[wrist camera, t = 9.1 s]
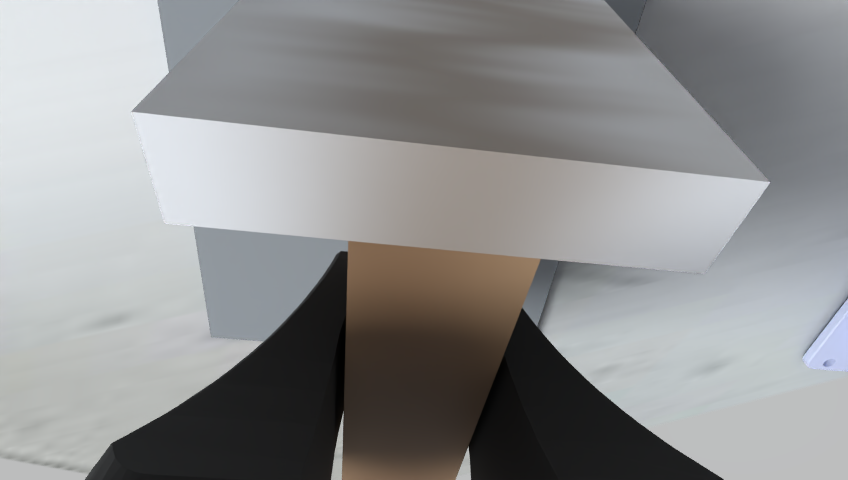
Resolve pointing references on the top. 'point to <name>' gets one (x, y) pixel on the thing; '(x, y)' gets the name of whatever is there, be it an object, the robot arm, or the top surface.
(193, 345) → the top surface
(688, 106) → the white-capped wooden block
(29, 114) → the top surface
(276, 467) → the robot arm
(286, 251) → the mat
